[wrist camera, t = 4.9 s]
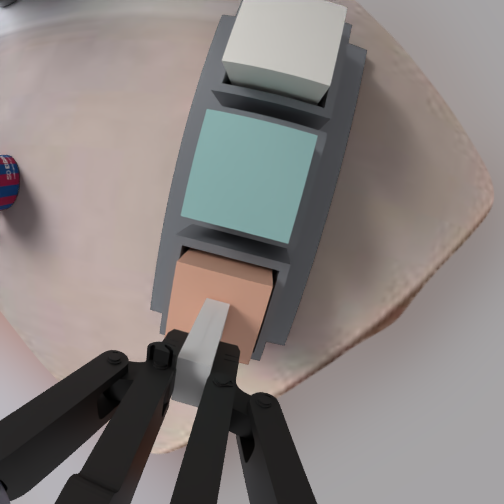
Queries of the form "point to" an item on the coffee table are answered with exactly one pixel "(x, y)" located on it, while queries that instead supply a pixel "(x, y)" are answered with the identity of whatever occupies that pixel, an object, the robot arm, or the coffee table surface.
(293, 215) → the teal key
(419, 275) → the coffee table surface
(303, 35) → the ivory key
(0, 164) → the mug
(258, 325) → the terracotta key
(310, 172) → the console
